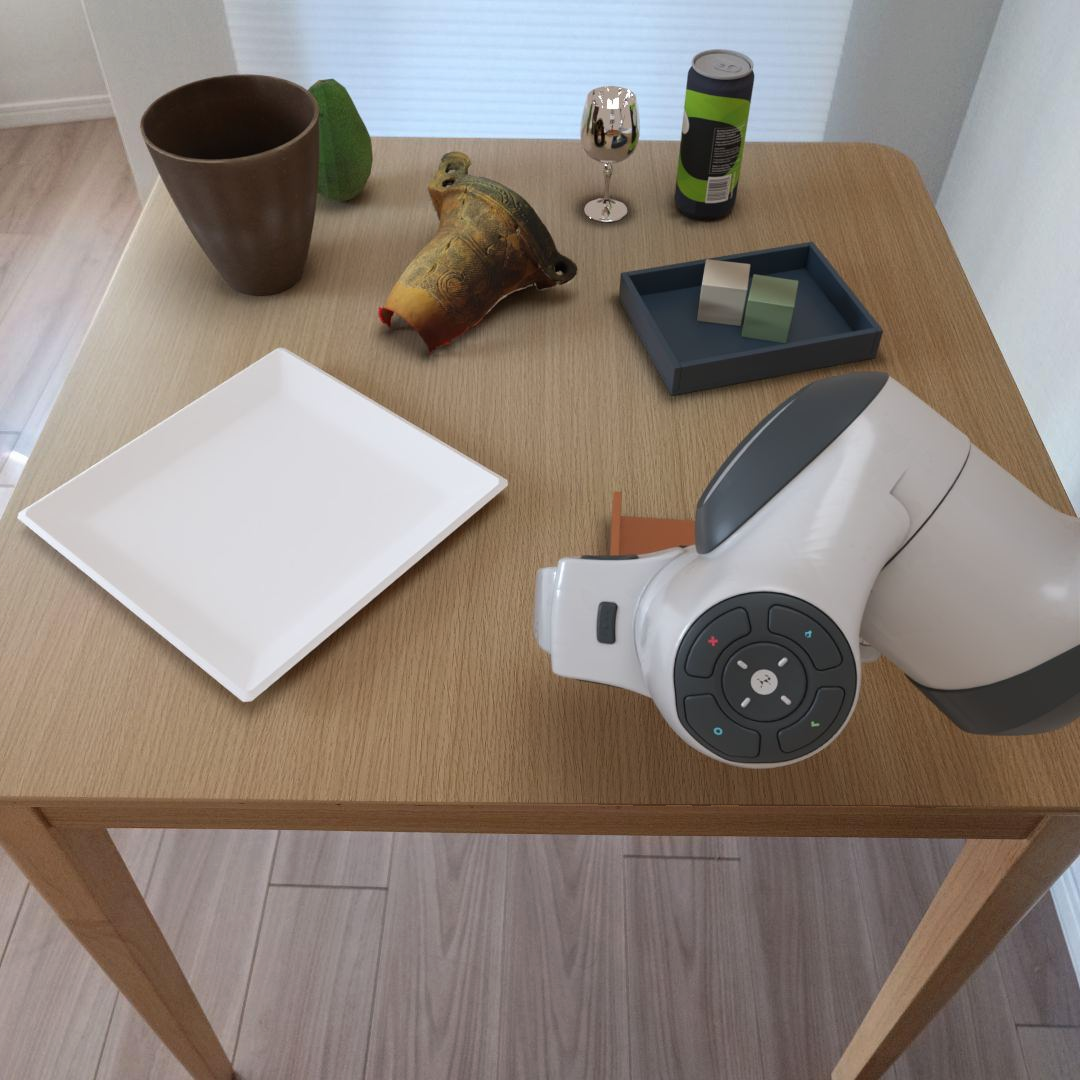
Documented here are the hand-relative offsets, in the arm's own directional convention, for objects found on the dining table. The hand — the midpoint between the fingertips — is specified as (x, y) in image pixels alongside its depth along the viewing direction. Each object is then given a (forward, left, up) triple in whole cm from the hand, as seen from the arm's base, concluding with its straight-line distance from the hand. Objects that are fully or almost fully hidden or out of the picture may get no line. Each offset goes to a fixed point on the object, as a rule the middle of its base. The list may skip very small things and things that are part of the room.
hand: (693, 599), depth 71 cm
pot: (+4, -45, -6) cm, 45 cm away
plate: (+26, -21, -6) cm, 34 cm away
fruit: (+14, -65, -6) cm, 66 cm away
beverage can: (-22, -53, -6) cm, 57 cm away
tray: (-18, -33, -6) cm, 38 cm away
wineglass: (-12, -55, -6) cm, 56 cm away
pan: (-2, -6, -5) cm, 8 cm away
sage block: (-20, -32, -1) cm, 37 cm away
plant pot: (+23, -53, -6) cm, 58 cm away
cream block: (-17, -35, -1) cm, 39 cm away
